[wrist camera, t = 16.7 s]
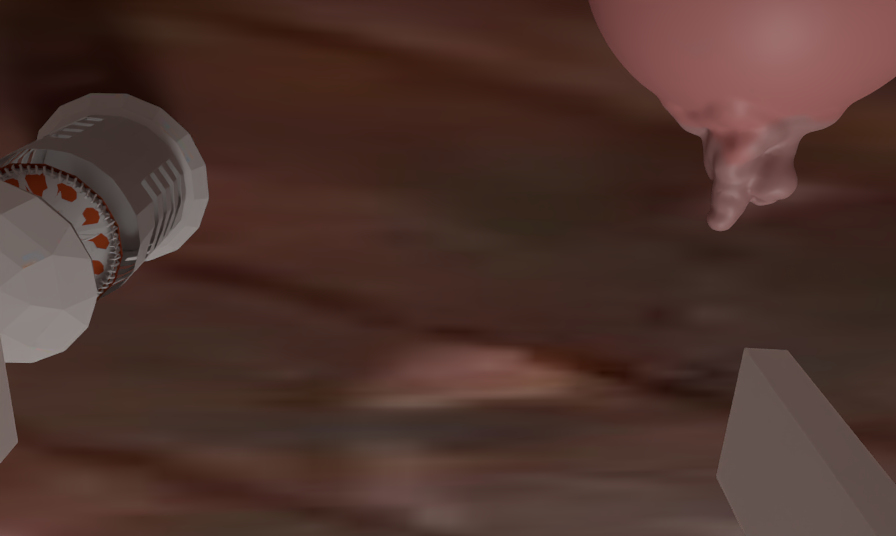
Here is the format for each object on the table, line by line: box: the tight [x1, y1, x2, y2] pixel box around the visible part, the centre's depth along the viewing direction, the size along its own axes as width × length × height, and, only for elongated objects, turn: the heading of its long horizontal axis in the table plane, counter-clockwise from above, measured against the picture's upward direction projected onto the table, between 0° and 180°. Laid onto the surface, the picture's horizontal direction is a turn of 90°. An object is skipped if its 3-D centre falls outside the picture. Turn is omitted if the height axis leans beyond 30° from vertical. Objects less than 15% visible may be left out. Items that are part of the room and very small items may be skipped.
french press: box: [0, 93, 209, 363], centre depth 35 cm, size 10×12×25 cm
